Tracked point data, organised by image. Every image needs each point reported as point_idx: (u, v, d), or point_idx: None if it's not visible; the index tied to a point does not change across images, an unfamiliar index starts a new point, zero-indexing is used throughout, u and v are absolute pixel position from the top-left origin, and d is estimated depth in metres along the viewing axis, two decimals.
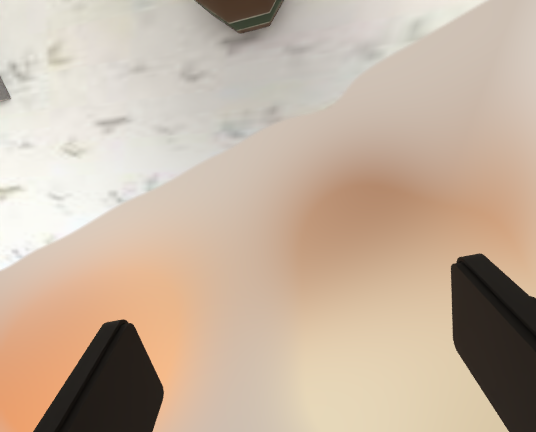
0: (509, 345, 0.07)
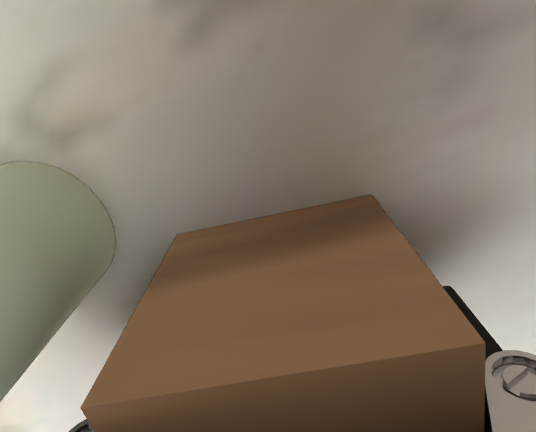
0: None
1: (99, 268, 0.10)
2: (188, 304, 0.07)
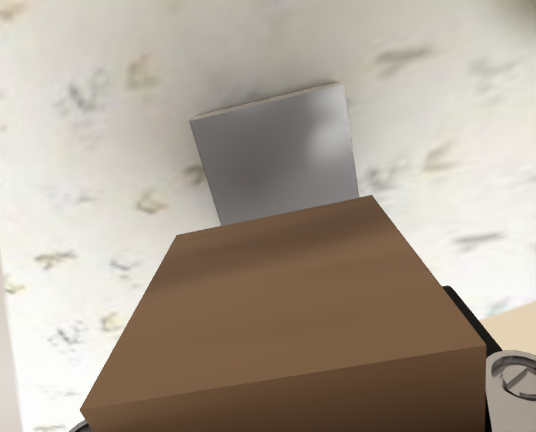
0: None
1: None
2: (188, 305, 0.07)
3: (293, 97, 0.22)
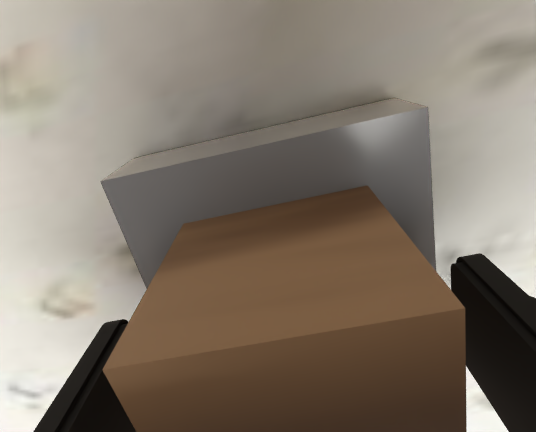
0: (509, 345, 0.07)
1: None
2: (197, 283, 0.08)
3: (317, 134, 0.10)
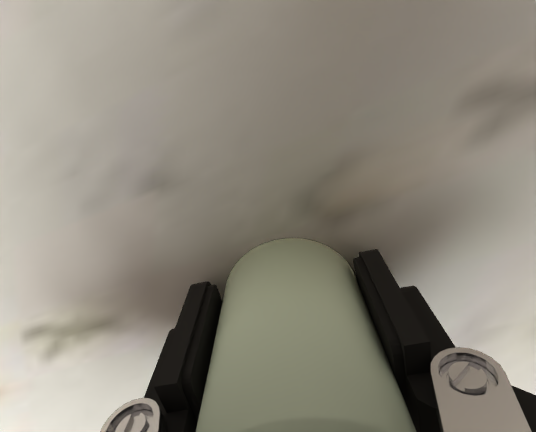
0: (377, 325, 0.08)
1: None
2: None
3: None
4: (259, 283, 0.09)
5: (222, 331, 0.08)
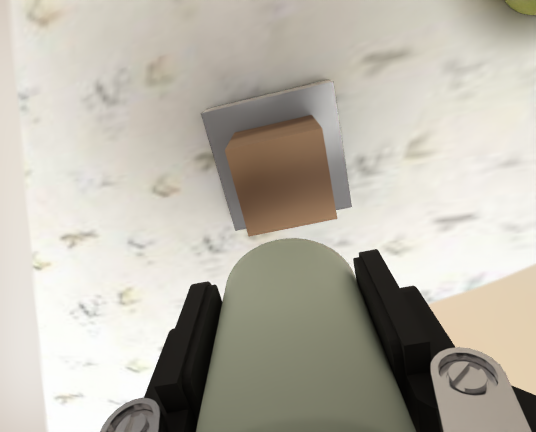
0: (377, 325, 0.08)
1: None
2: (246, 138, 0.23)
3: (290, 92, 0.26)
4: (259, 284, 0.09)
5: (222, 332, 0.08)
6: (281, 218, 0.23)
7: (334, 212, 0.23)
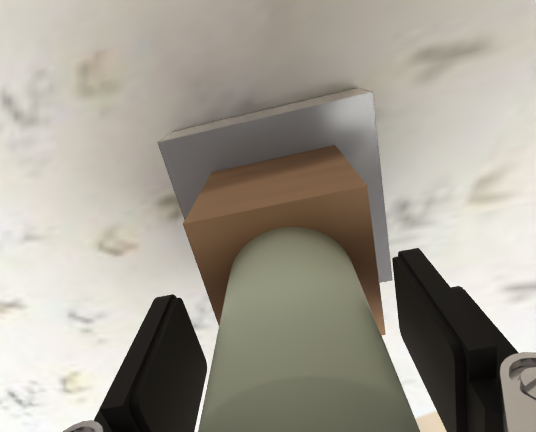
0: (428, 328, 0.08)
1: None
2: (227, 193, 0.13)
3: (301, 110, 0.16)
4: (262, 267, 0.10)
5: (228, 310, 0.09)
6: None
7: (381, 325, 0.13)
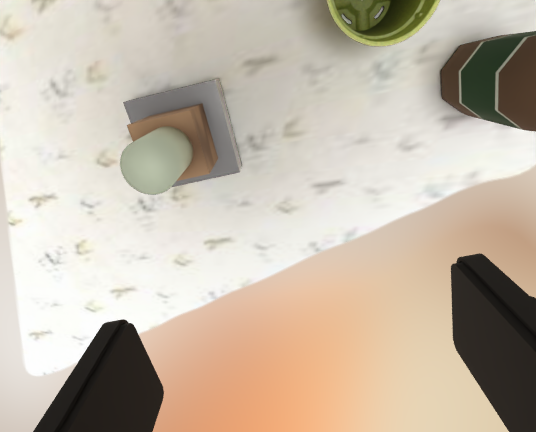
0: (509, 345, 0.07)
1: (190, 160, 0.32)
2: (147, 118, 0.34)
3: (185, 87, 0.36)
4: (149, 133, 0.30)
5: None
6: None
7: (206, 169, 0.33)
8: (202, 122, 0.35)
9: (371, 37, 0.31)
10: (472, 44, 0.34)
